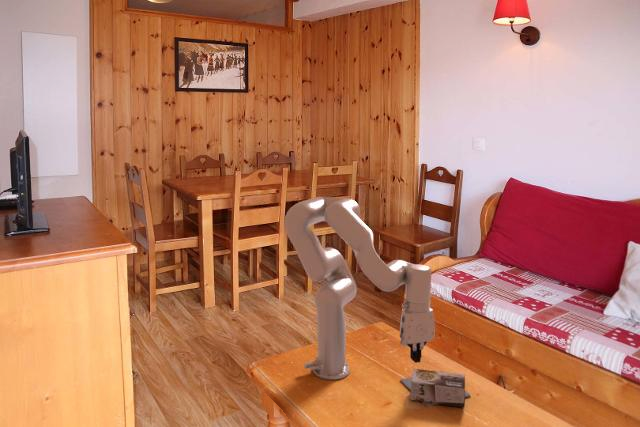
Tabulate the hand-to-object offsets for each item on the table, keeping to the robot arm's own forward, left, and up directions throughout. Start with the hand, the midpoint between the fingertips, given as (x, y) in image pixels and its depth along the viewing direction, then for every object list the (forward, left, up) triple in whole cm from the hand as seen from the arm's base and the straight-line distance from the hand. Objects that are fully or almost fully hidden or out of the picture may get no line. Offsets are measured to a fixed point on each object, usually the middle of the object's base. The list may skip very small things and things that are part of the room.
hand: (415, 360), depth 165 cm
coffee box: (-2, 0, -8) cm, 8 cm away
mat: (+7, 0, -11) cm, 14 cm away
